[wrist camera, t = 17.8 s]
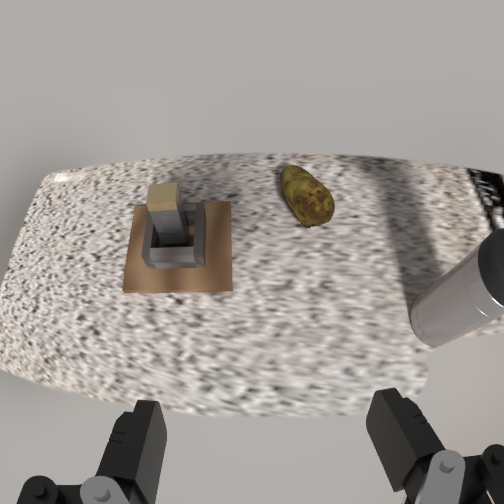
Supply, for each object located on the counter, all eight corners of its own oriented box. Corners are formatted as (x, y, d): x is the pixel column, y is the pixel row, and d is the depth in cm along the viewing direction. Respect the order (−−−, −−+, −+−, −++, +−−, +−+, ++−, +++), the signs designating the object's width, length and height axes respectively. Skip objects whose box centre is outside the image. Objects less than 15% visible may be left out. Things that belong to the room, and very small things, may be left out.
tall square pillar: (189, 234, 46) (177, 182, 36) (189, 252, 45) (175, 201, 34) (167, 236, 46) (149, 184, 35) (166, 253, 44) (146, 204, 34)
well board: (230, 205, 50) (229, 185, 46) (232, 291, 43) (231, 276, 39) (136, 209, 49) (128, 190, 45) (124, 292, 42) (112, 278, 38)
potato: (324, 182, 54) (334, 150, 47) (328, 243, 48) (342, 213, 41) (278, 176, 54) (283, 143, 47) (276, 238, 48) (282, 206, 41)
